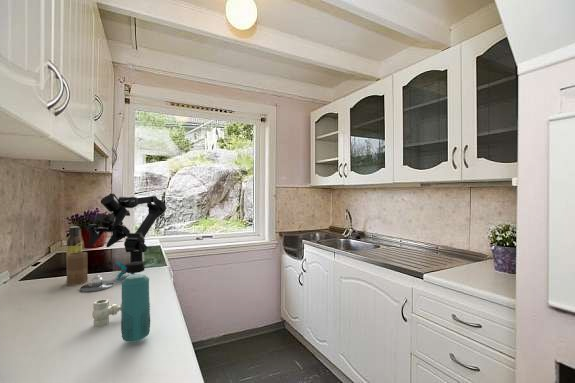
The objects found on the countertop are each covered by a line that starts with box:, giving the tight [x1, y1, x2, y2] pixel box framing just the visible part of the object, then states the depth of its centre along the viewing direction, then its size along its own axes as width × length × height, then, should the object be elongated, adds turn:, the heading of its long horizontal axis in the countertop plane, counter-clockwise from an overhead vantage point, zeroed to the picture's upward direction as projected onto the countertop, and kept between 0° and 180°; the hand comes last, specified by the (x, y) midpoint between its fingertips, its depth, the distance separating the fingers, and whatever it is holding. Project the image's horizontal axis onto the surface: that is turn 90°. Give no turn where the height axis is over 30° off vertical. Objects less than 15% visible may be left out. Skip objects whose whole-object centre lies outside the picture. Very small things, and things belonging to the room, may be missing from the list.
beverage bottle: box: [120, 261, 151, 342], centre depth 71 cm, size 6×7×20 cm
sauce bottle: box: [65, 226, 83, 265], centre depth 140 cm, size 6×6×20 cm
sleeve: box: [66, 251, 89, 286], centre depth 115 cm, size 6×6×12 cm
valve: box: [91, 298, 122, 328], centre depth 83 cm, size 7×7×12 cm
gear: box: [115, 261, 135, 280], centre depth 121 cm, size 11×6×10 cm
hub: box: [79, 274, 115, 293], centre depth 110 cm, size 11×11×4 cm
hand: (97, 246), depth 122 cm, fingers open, 9 cm apart
